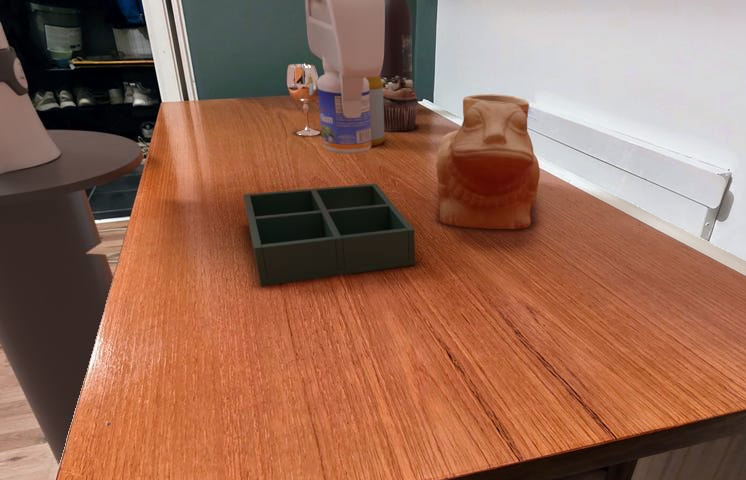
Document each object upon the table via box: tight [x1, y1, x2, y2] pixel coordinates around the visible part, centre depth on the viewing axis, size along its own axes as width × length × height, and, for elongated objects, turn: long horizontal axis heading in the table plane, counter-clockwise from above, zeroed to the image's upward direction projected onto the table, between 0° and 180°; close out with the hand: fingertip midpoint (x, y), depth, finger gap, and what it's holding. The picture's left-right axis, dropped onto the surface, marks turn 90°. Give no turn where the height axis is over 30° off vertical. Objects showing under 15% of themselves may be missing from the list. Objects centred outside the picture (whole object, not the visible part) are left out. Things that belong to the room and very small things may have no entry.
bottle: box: [366, 74, 385, 147], centre depth 98 cm, size 7×7×15 cm
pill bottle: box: [317, 54, 372, 155], centre depth 59 cm, size 5×5×10 cm
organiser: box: [242, 183, 416, 287], centre depth 61 cm, size 16×16×4 cm
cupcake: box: [380, 75, 419, 132], centre depth 111 cm, size 10×10×10 cm
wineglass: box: [286, 63, 321, 137], centre depth 102 cm, size 6×6×12 cm
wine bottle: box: [380, 0, 413, 81], centre depth 120 cm, size 7×7×30 cm
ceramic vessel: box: [435, 93, 541, 230], centre depth 72 cm, size 14×26×15 cm, turn 179°
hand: (344, 110), depth 59 cm, fingers closed on pill bottle, 5 cm apart
